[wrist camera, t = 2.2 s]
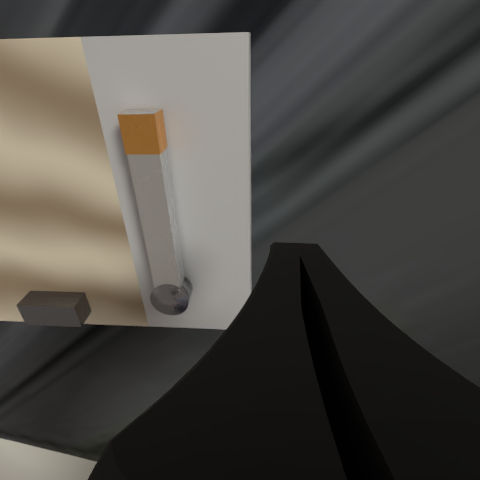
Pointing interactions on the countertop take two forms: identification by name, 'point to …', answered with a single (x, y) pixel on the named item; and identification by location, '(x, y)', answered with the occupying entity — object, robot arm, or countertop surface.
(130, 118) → the bar
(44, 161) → the door panel
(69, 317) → the block
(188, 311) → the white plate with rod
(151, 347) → the countertop surface
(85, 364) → the countertop surface
